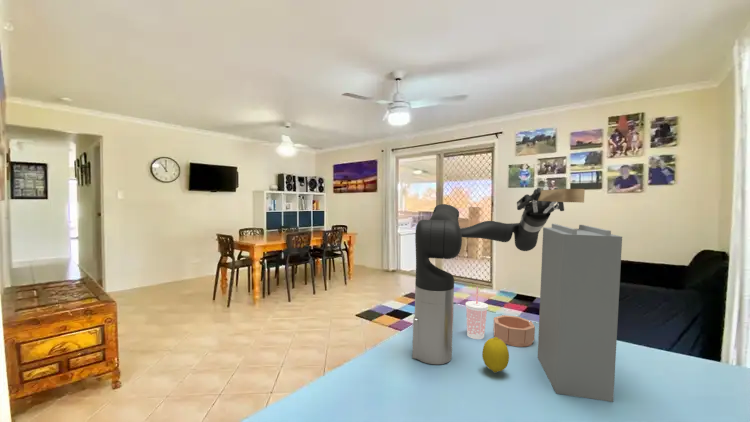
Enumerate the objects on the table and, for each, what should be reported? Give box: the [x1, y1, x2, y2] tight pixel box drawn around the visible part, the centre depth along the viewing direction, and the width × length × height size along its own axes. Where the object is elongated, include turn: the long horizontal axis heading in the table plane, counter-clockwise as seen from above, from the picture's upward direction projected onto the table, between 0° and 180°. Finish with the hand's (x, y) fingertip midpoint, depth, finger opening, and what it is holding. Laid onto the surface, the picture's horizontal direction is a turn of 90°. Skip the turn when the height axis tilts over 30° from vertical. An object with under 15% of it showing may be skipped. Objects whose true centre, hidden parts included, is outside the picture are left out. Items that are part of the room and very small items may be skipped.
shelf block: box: [537, 223, 623, 403], centre depth 71 cm, size 10×15×33 cm, turn 166°
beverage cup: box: [465, 286, 489, 340], centre depth 92 cm, size 6×6×14 cm
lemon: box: [481, 336, 510, 374], centre depth 73 cm, size 6×6×8 cm
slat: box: [537, 188, 586, 204], centre depth 85 cm, size 4×26×3 cm, turn 166°
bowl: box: [492, 314, 536, 348], centre depth 90 cm, size 10×10×5 cm
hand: (548, 190), depth 93 cm, fingers closed on slat, 4 cm apart
